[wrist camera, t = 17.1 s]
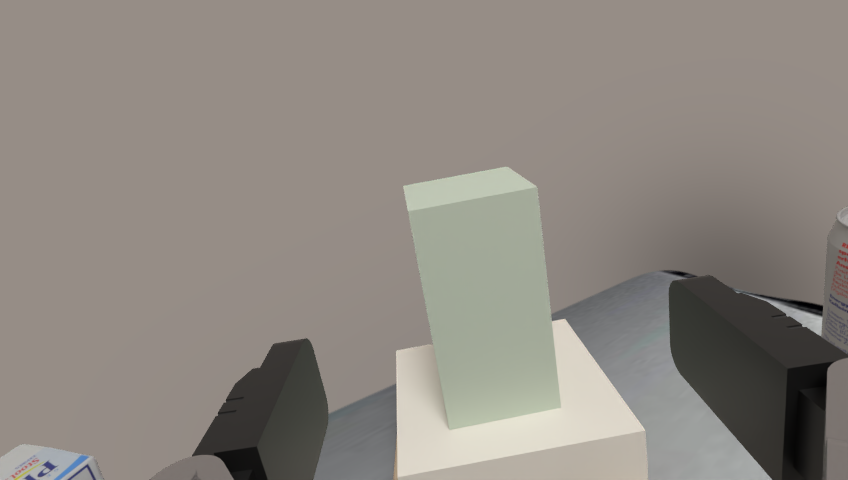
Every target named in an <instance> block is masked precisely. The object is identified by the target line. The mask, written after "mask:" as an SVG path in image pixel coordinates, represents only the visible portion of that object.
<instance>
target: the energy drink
mask: <svg viewBox="0 0 848 480" xmlns="http://www.w3.org/2000/svg"><path fill="white" fill-rule="evenodd" d="M836 219H837V220H836V222H835V223H834V225H833V227H832V229H831V230H830V232H829V235H828V239H827V240H828V241H827V255H826V271H825V288H824V303H823V319H822V335H821V337H822V338H824V339H825V340H827V341H828V342H830V343H831V344H833V345H834V346H836V347H837V348H839V349H840V350H842V351H843V352H845V353H846V354H848V206H847V207H845V208H842V209H841V210H840V211H839V212H838V213H837V215H836Z"/></svg>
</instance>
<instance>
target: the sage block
mask: <svg viewBox="0 0 848 480" xmlns="http://www.w3.org/2000/svg"><path fill="white" fill-rule="evenodd" d="M403 188H404V193H405V198H406V204H407V209H408V214H409V219H410V225H411V230H412V235H413V240H414V246H415V251H416V256H417V261H418V267H419V272H420V278H421V283H422V288H423V293H424V299H425V303H426V309H427V315H428V320H429V325H430V330H431V336H432V341H433V346H434V352H435V357H436V362H437V367H438V373H439V378H440V383H441V388H442V394H443V399H444V404H445V409H446V415H447V420H448V425H449V430H451V429H456V428H461V427H466V426H471V425H476V424H481V423H486V422H491V421H496V420H501V419H507V418H512V417H517V416H522V415H527V414H532V413H537V412H542V411H547V410H552V409H557V408H561V402H560V393H559V384H558V374H557V365H556V356H555V347H554V337H553V328H552V319H551V310H550V300H549V291H548V282H547V273H546V263H545V254H544V245H543V235H542V226H541V217H540V208H539V198H538V189H537V186H535V185H533V184H532V183H531V182H529V181H528V180H526V179H525V178H523V177H522V176H520V175H519V174H517V173H515V172H514V171H513V170H511V169H510V168H508V167H502V168H497V169H492V170H486V171H481V172H476V173H470V174H465V175H460V176H454V177H449V178H443V179H438V180H433V181H427V182H422V183H417V184H411V185H406V186H403Z"/></svg>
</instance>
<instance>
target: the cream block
mask: <svg viewBox="0 0 848 480" xmlns="http://www.w3.org/2000/svg"><path fill="white" fill-rule="evenodd" d="M552 328H553V337H554V347H555V356H556V365H557V374H558V384H559V393H560V402H561V408H557V409H552V410H547V411H542V412H537V413H532V414H527V415H522V416H517V417H512V418H507V419H501V420H496V421H491V422H486V423H481V424H476V425H471V426H466V427H461V428H456V429H451V430H449V425H448V420H447V415H446V409H445V404H444V399H443V394H442V388H441V383H440V378H439V373H438V367H437V362H436V357H435V352H434V346H433V344H429V345H424V346H419V347H413V348H408V349H403V350H398V351H396V363H397V364H396V368H397V369H396V372H397V475H398V480H648V468H647V450H646V432H645V429H644V428H643V426H642V425H641V424H640V422H639V421H638V420H637V418H636V417H635V415H634V414H633V413H632V411H631V410H630V408H629V407H628V406H627V404H626V403H625V402H624V400H623V399H622V397H621V396H620V395H619V393H618V392H617V390H616V389H615V388H614V386H613V385H612V384H611V382H610V381H609V379H608V378H607V377H606V375H605V374H604V372H603V371H602V370H601V368H600V367H599V366H598V364H597V363H596V361H595V360H594V359H593V357H592V356H591V354H590V353H589V352H588V350H587V349H586V348H585V346H584V345H583V343H582V342H581V341H580V339H579V338H578V336H577V335H576V334H575V332H574V331H573V330H572V328H571V327H570V325H569V324H568V323H567V321H566V320H565V319H562V320H557V321H552Z"/></svg>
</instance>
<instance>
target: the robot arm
mask: <svg viewBox="0 0 848 480" xmlns="http://www.w3.org/2000/svg"><path fill="white" fill-rule="evenodd" d="M669 318H670V347H671V353H672V357H673V360H674V363H675V365H676V367H677V369H678V371H679V373H680V374H681V375H682V376H683V378H684V379H685V380H686V381H687V382H688V383H689V384H690V386H691V387H692V388H693V389H694V390H695V391H696V392H697V394H698V395H699V396H700V397H701V398H702V399H703V400H704V402H705V403H706V404H707V405H708V406H709V407H710V409H711V410H712V411H713V412H714V413H715V414H716V415H717V417H718V418H719V419H720V420H721V421H722V422H723V423H724V425H725V426H726V427H727V428H728V429H729V430H730V431H731V433H732V434H733V435H734V436H735V437H736V438H737V440H738V441H739V442H740V443H741V444H742V445H743V446H744V448H745V449H746V450H747V451H748V452H749V453H750V454H751V456H752V457H753V458H754V459H755V460H756V461H757V462H758V464H759V465H760V466H761V467H762V468H763V469H764V471H765V472H766V473H767V474H768V475H769V476H770V477H771V479H772V480H848V354H846V353H845V352H843V351H842V350H840V349H839V348H837V347H836V346H834V345H833V344H831V343H830V342H828V341H827V340H825V339H824V338H822V337H820V336H819V335H817V334H816V333H814V332H813V331H811V330H810V329H808V328H807V327H802V324H801V323H799V322H797V321H796V320H794V319H793V318H791V317H787V316H786V314H785V313H784V312H782V311H781V310H779V309H778V308H776V307H774V306H773V305H771V304H770V303H768V302H766V301H763V300H761V299H758V298H755V297H752V296H749V295H746V294H743V293H736V292H735V291H733V290H732V289H730V288H729V287H727V286H726V285H725V284H723V283H722V282H720V281H719V280H717V279H716V278H714V277H713V276H710V275H706V276H700V277H694V278H687V279H681V280H675V281H672V283H671V284H670V287H669ZM327 425H328V404H327V398H326V394H325V391H324V387H323V383H322V380H321V376H320V372H319V368H318V365H317V361H316V357H315V354H314V350H313V347H312V344H311V342H310V341H309V340H308V339H307V338H306V339H301V340H294V341H287V342H281V343H275V344H273V346H272V347H271V349H270V351H269V353H268V354H267V356H266V358H265V360H264V362H263V363H262V365H261V367H260V368H255V369H252V370H251V371H250V372H248V373H247V374H246V375H245V376H244V377H243V378H242V379H240V380H239V381H238V382H237V383H236V384H235V385H234V387H233V389H232V390H231V392H230V394H229V395H228V397H227V399H226V403H224V404H223V405H222V407H221V409H220V410H219V412H218V416H216V417H215V419H214V420H213V422H212V424H211V425H210V427H209V429H208V430H207V432H206V434H205V435H204V437H203V439H202V440H201V442H200V443H199V445H198V447H197V448H196V450H195V452H194V454H193V455H192V457H189V458H186V459H183V460H180V461H178V462H176V463H174V464H172V465H170V466H168V467H166V468H165V469H163V470H162V471H160V472H159V473H157V474H156V475H155V476H154V477H152V478H151V479H150V480H313V479H314V475H315V471H316V467H317V464H318V460H319V456H320V452H321V448H322V445H323V441H324V437H325V433H326V430H327Z"/></svg>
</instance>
